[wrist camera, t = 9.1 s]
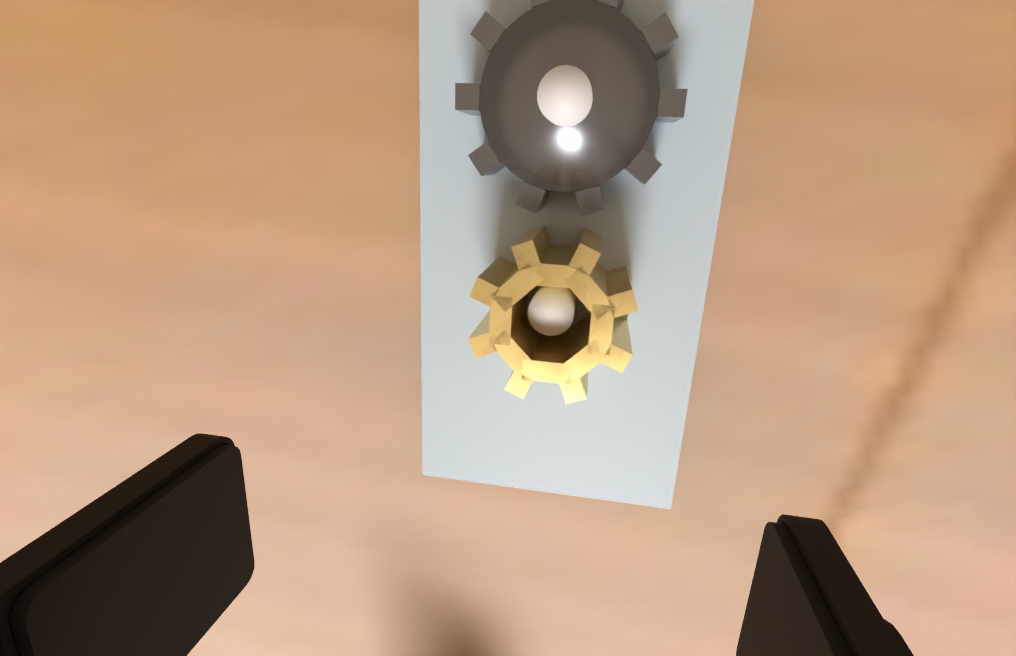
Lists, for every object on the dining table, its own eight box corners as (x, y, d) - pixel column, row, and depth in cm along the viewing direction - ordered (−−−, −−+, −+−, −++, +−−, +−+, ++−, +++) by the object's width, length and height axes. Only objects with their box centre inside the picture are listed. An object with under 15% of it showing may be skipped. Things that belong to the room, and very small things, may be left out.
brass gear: (637, 230, 25) (646, 247, 20) (621, 366, 27) (626, 410, 22) (494, 221, 26) (470, 235, 21) (489, 353, 28) (466, 392, 23)
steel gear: (690, -8, 22) (704, -33, 19) (661, 214, 24) (669, 221, 21) (474, -8, 23) (456, -32, 20) (470, 202, 26) (453, 208, 23)
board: (749, -36, 23) (804, -109, 16) (666, 487, 31) (682, 569, 24) (432, -34, 25) (376, -98, 18) (432, 456, 33) (393, 525, 26)
